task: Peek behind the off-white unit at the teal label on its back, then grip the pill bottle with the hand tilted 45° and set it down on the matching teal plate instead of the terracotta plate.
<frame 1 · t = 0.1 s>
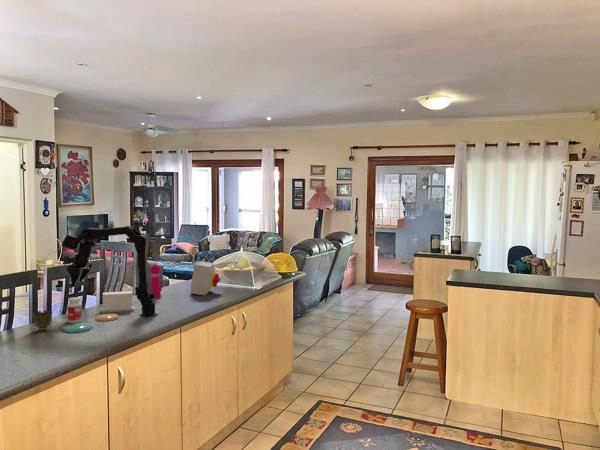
hand: (76, 283, 238), 15 cm above the table, tool pointing down, fingers open, 9 cm apart
pill bottle: (74, 322, 227), on the table
pepper mill: (155, 297, 282), on the table
electrical switch box: (205, 293, 295), on the table
terracotta plate: (107, 318, 234), on the table
teal plate: (77, 328, 216), on the table
cup: (42, 330, 213), on the table
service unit: (117, 310, 250), on the table
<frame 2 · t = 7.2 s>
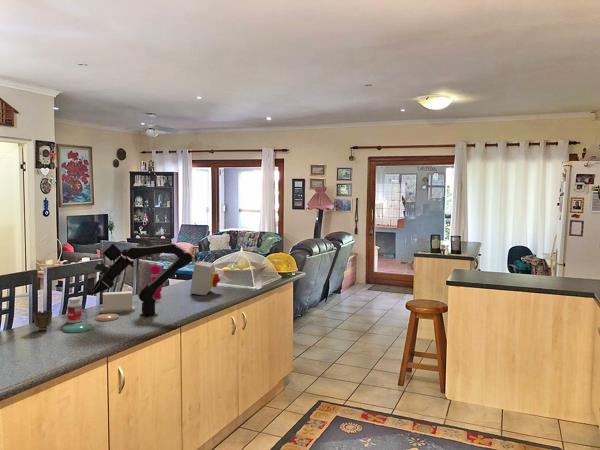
hand: (93, 291, 230), 14 cm above the table, tool tilted 45°, fingers open, 9 cm apart
nothing on the table moved.
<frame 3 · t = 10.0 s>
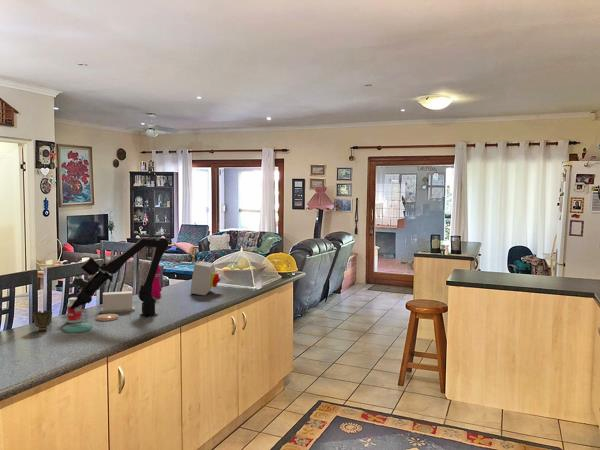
hand: (71, 306, 226), 7 cm above the table, tool tilted 45°, fingers closed on pill bottle, 6 cm apart
pill bottle: (74, 322, 227), on the table, touching gripper
everything else where it was.
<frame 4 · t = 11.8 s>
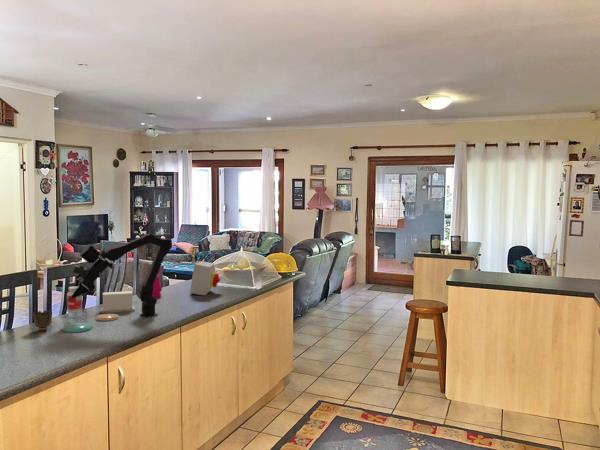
hand: (71, 296, 221), 13 cm above the table, tool tilted 45°, fingers closed on pill bottle, 6 cm apart
pill bottle: (74, 311, 222), point 6 cm above the table, touching gripper
everything else where it was.
when the fingers open (9 cm above the table, at t = 14.0 s): pill bottle stays where it is, resting on teal plate.
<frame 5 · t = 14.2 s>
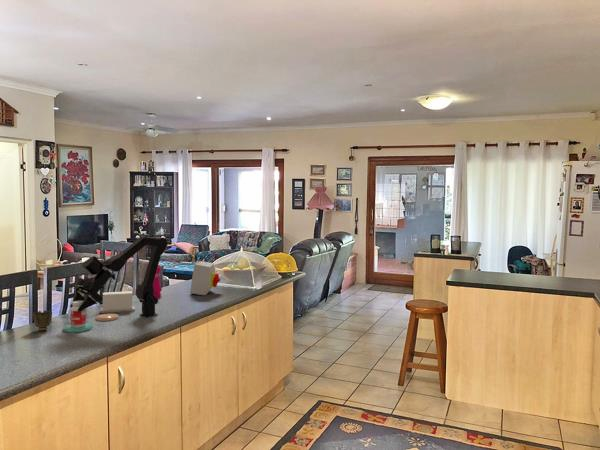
hand: (74, 309, 215), 9 cm above the table, tool tilted 45°, fingers open, 8 cm apart
pill bottle: (78, 326, 216), point 1 cm above the table, touching teal plate
everything else where it was.
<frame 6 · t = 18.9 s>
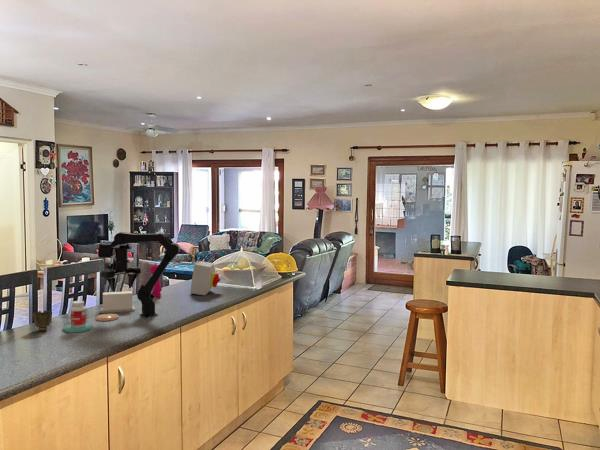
hand: (121, 289, 238), 13 cm above the table, tool pointing down, fingers open, 9 cm apart
nothing on the table moved.
at the end: pill bottle inside the target area on the teal plate (0.2 cm from its centre), point 0.8 cm above the teal plate's base; pill bottle tilted 0°; the gripper is holding nothing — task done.
